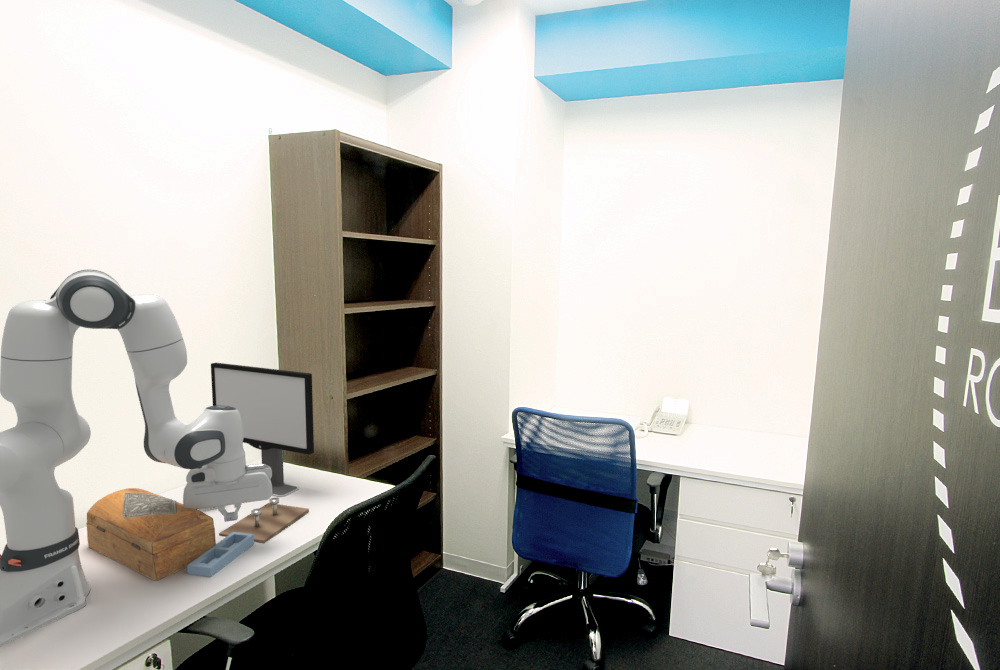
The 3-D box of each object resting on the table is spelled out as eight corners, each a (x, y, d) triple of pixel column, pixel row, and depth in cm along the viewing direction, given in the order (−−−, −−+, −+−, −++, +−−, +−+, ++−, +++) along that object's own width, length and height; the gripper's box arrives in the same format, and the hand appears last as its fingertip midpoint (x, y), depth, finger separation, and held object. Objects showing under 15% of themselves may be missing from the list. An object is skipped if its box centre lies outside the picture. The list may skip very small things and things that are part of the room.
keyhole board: (263, 544, 143) (263, 540, 143) (219, 536, 147) (219, 533, 147) (308, 511, 163) (308, 508, 163) (268, 505, 166) (268, 502, 166)
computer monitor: (210, 481, 184) (204, 364, 179) (231, 472, 192) (226, 360, 187) (306, 503, 168) (302, 375, 163) (324, 493, 176) (321, 371, 171)
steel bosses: (257, 529, 150) (257, 513, 149) (249, 527, 150) (249, 511, 150) (281, 513, 159) (281, 498, 159) (273, 512, 160) (273, 497, 159)
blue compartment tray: (254, 545, 143) (253, 534, 143) (211, 580, 127) (210, 568, 127) (233, 542, 144) (232, 531, 144) (188, 577, 128) (187, 565, 128)
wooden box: (221, 555, 138) (218, 502, 136) (153, 587, 124) (149, 529, 122) (155, 526, 153) (152, 478, 151) (87, 552, 139) (83, 499, 137)
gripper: (272, 458, 144) (276, 508, 146) (184, 469, 138) (189, 521, 140) (270, 466, 138) (274, 518, 140) (178, 478, 132) (184, 532, 134)
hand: (231, 520), depth 140 cm, fingers closed
